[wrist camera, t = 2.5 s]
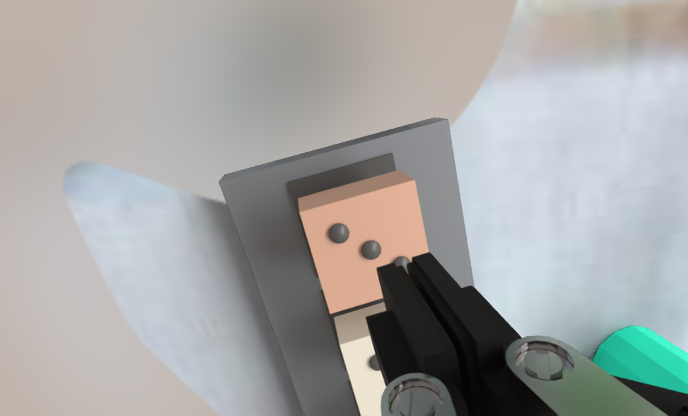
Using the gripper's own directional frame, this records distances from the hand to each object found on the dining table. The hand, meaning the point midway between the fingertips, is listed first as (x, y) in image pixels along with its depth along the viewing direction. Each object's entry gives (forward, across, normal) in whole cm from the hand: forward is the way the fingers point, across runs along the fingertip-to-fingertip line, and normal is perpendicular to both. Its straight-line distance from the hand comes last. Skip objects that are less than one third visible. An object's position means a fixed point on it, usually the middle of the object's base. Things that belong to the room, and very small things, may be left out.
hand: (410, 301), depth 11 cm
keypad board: (+12, 0, +8) cm, 15 cm away
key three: (+8, 0, +1) cm, 8 cm away
